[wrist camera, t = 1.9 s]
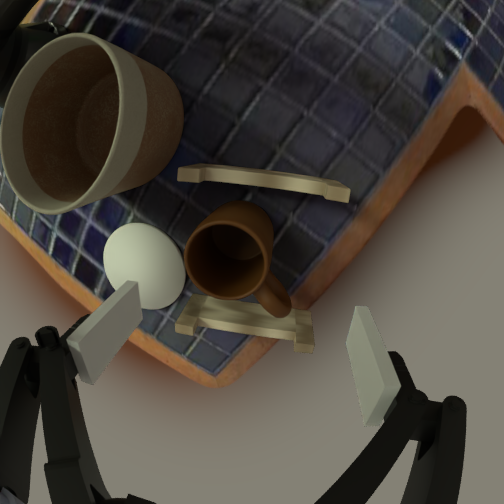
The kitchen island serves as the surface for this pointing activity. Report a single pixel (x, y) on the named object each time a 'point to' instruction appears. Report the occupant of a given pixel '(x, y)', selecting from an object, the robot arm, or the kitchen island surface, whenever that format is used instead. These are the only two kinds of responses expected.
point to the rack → (244, 313)
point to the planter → (87, 124)
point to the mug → (236, 257)
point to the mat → (145, 263)
